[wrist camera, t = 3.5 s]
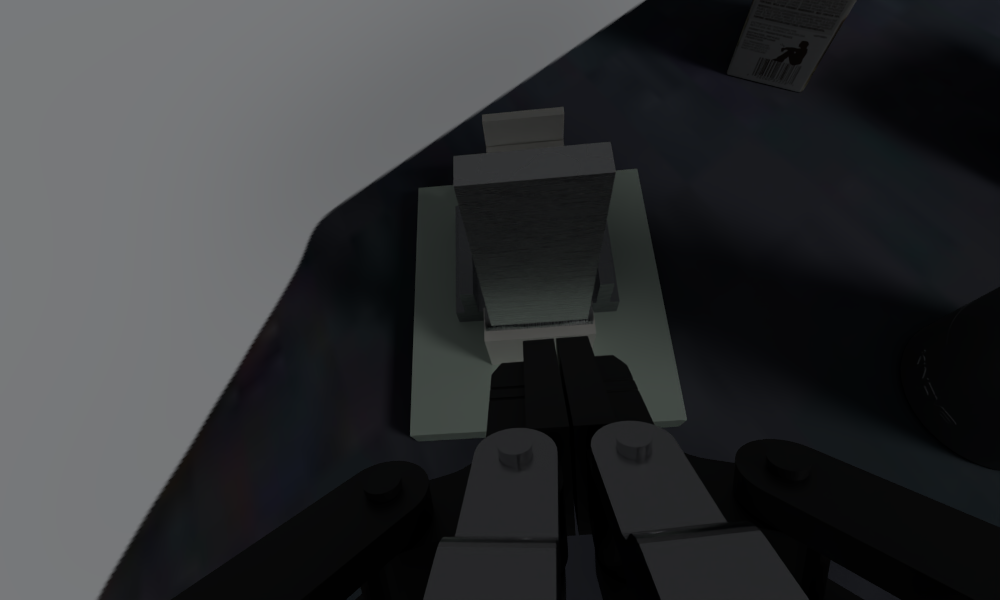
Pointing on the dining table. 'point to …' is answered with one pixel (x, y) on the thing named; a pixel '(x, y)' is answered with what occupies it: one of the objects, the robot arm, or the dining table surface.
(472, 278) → the heat sink
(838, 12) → the coffee box
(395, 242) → the dining table surface
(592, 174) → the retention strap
